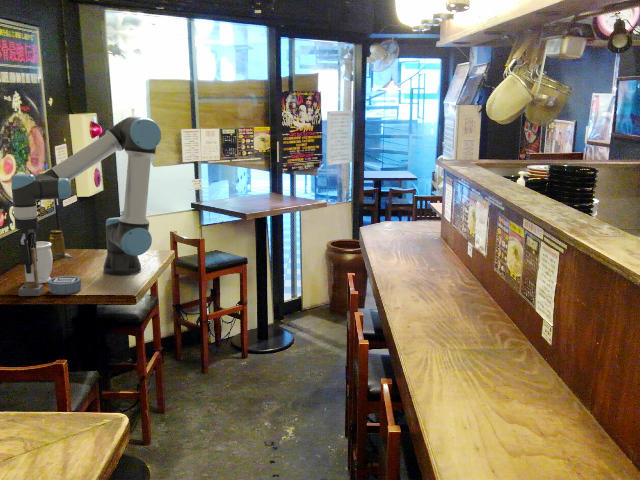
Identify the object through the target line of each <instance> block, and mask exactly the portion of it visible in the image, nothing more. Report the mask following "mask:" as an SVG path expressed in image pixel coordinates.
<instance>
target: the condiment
mask: <svg viewBox="0 0 640 480" xmlns="http://www.w3.org/2000/svg"><path fill="white" fill-rule="evenodd" d="M49 242H50V243H51V244H52V245H51V247H50V249H51V251H52V258H53V260H57V259H67V258H73V256H72V255H70V254H69V253H66V250H65V249H66V247H65V237H64V233H63V231H62V230H61V229H60V230H59V229H56V230H55V229H54V230H50V232H49Z"/></svg>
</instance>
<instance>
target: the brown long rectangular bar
mask: <svg viewBox="0 0 640 480" xmlns="http://www.w3.org/2000/svg"><path fill="white" fill-rule="evenodd" d="M31 253H32V264H33V268H34V280H35V281H34V282H26V275H25V265H22V266H23V276H24V285H25V288H38V287H39V285H40V284H38V273H37V261H36V249H35V248H31Z"/></svg>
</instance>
